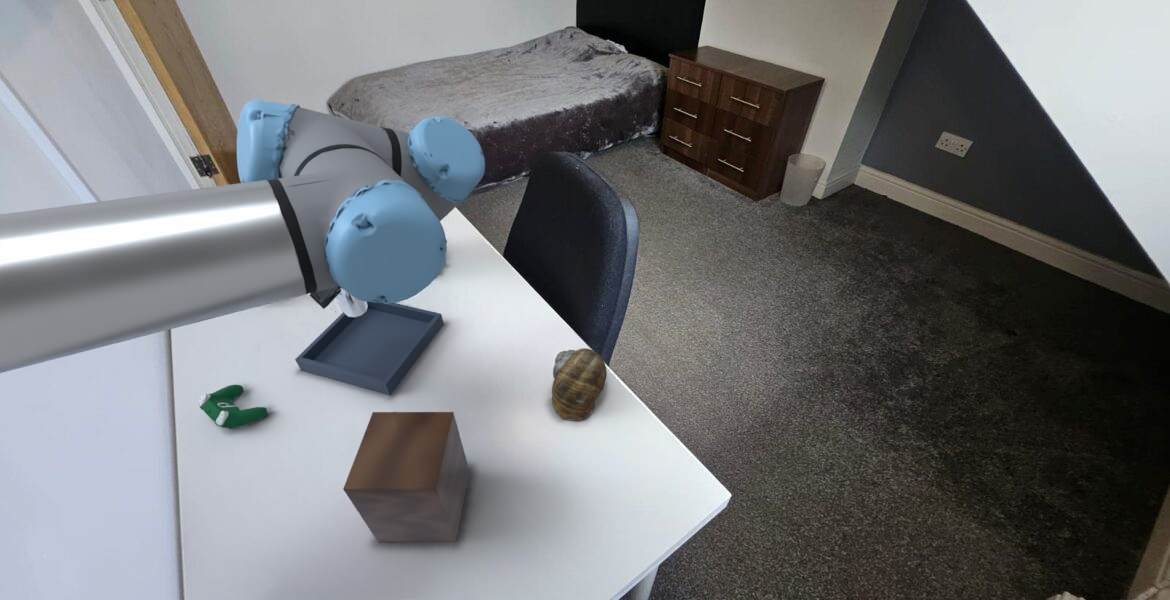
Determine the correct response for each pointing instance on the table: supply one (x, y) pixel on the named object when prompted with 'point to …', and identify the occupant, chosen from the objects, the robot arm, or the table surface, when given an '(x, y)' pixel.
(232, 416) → the gaming controller
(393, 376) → the tray
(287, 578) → the table surface
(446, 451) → the block
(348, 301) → the milkshake
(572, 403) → the seashell
